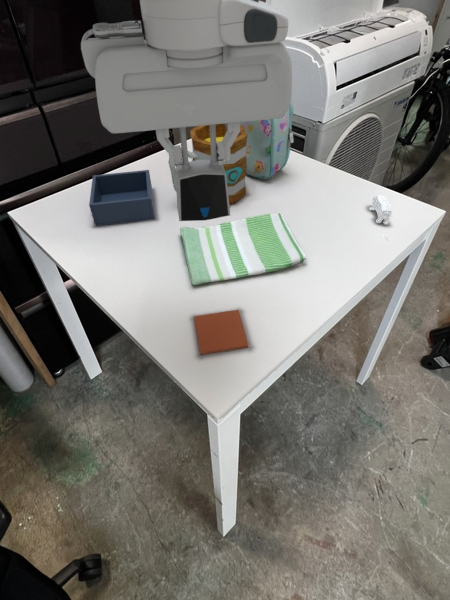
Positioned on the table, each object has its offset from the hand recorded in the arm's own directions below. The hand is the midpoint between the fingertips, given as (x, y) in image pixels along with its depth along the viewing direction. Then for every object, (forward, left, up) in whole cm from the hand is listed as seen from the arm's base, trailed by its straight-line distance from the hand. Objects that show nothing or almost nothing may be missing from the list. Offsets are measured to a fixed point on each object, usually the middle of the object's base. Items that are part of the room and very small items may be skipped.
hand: (200, 161), depth 44 cm
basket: (-15, +40, -29) cm, 52 cm away
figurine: (+43, +24, -29) cm, 57 cm away
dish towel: (+9, +18, -29) cm, 36 cm away
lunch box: (+18, +55, -29) cm, 65 cm away
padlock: (0, 0, -7) cm, 7 cm away
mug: (+6, +41, -29) cm, 51 cm away
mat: (+1, -3, -29) cm, 29 cm away
